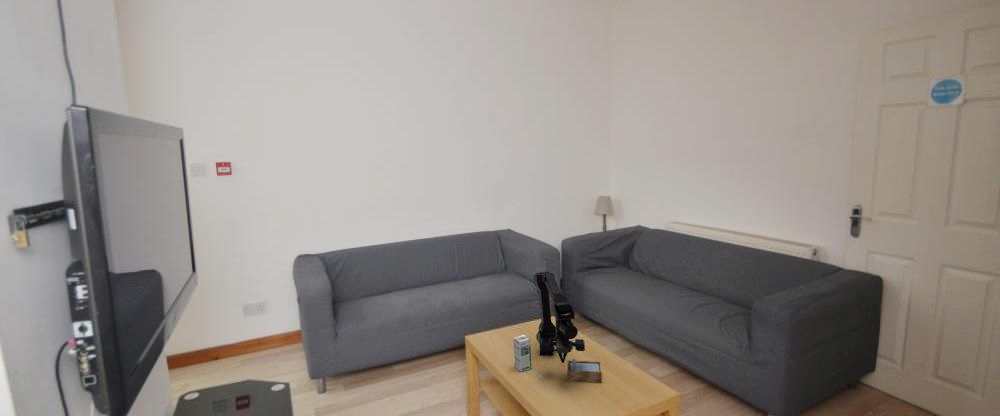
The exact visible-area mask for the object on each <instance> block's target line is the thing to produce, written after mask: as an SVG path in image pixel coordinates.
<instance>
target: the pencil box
mask: <svg viewBox="0 0 1000 416" xmlns="http://www.w3.org/2000/svg"><path fill="white" fill-rule="evenodd" d="M571 363H573V360H569V359H568V360H567V382H578V383H579V382H582V383H583V382H585V383H602V370H601V362H600V361H596V360H595V361H593V360H591V361H589V360H575V363H591V364H598V365H599V371H580V370H571Z"/></svg>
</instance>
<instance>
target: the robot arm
mask: <svg viewBox="0 0 1000 416" xmlns="http://www.w3.org/2000/svg"><path fill="white" fill-rule="evenodd" d="M532 278H533V279H532V280H533V283H534V286H535V288H536V289H537V290H538V296H539V307H540V309H539V310H540V319H541V321H540V323H539V325H538V331H537V333H536V334H535V338H536V341H537V343H538V344H539V356H550V357H551V356H552V357H553V356H554V354H555V353H557V354H558V356H559V359H560V360H559V361H561V362H560V363H561V364H565V361H566V358H567V356H568V354H569V353H571V352H572V350H573V349H574V348H575V351H577V352H585V351H586V345H585V340H584V339H582V338H581V339H580V338H578V339H577V338H576V337H577V336H578V334H579V331H578V327H577V326H575V324H574V322H573V321H572V320H575V318H576V317H575V315H576V313H575V310H574V308H573V305H572V303H571V302H570V301H569V299H568V298H567V296H565V295H563V294H562V291H561V290H560V287H559V285H558V282H557V281H556V277H555V274H554V273H553V272H549V271H539V272H535V274H534V275H533V277H532ZM550 298H551V301H552V304H551V302H550ZM551 308H552V309H551ZM551 310H552V312H553V315H554V318H555V320H554V321H555V324H554V323H553V322H552V315H551V314H552V313H551ZM573 339H574V341H573Z"/></svg>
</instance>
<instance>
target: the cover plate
mask: <svg viewBox="0 0 1000 416" xmlns="http://www.w3.org/2000/svg"><path fill="white" fill-rule="evenodd" d="M572 361H573V363H571V370H580V371H599V365H598V364H591V363H575V361H576V358H572Z"/></svg>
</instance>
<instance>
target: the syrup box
mask: <svg viewBox="0 0 1000 416" xmlns="http://www.w3.org/2000/svg"><path fill="white" fill-rule="evenodd" d="M512 339H513V355H514V356H513V357H514V359H513V360H514V367H515V369H517V370H518V371H519V372H520V373H522V372H525V371H528V370H531V369H532V368H533V367H532V366H533V365H532V350H531V349H532V348H531V346H532V344H531V343H532V342H531V338H530V337H529V336H528V335H526V334H522V335H519V336H514V337H513V338H512Z"/></svg>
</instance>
